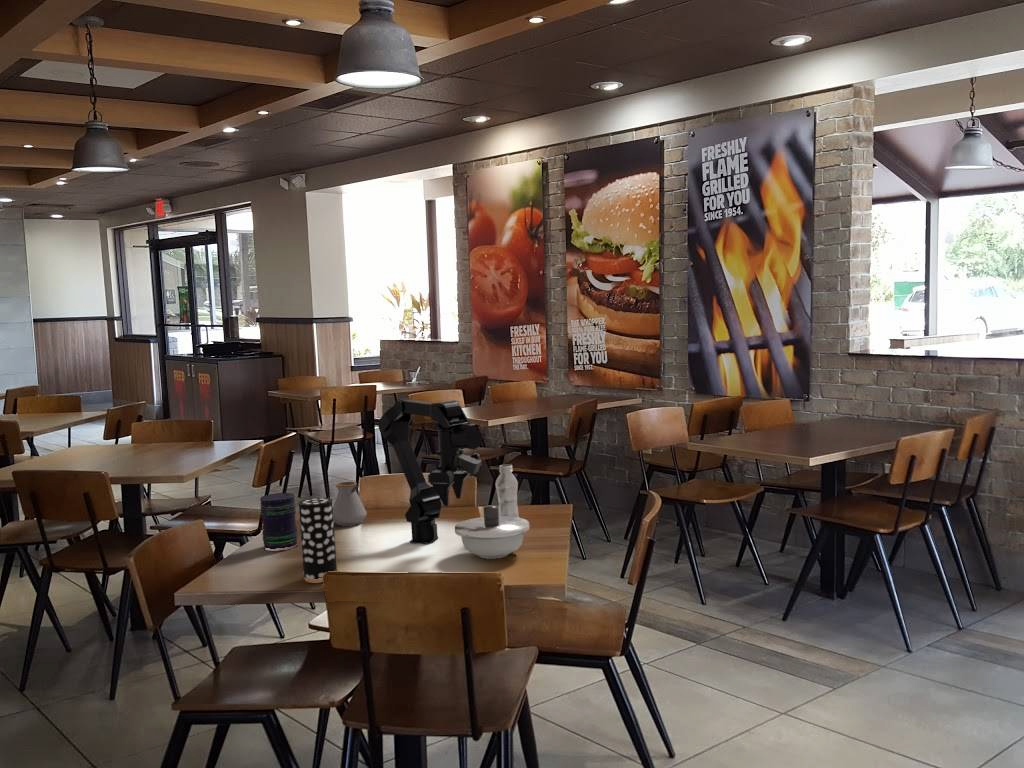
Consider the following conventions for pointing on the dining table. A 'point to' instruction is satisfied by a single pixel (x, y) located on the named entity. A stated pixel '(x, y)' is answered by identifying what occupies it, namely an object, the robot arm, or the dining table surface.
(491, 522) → the steel lid
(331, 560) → the white-spotted black cylinder
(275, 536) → the storage jar
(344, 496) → the coffee pot
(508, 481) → the plastic bottle
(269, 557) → the dining table surface
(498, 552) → the cereal bowl
